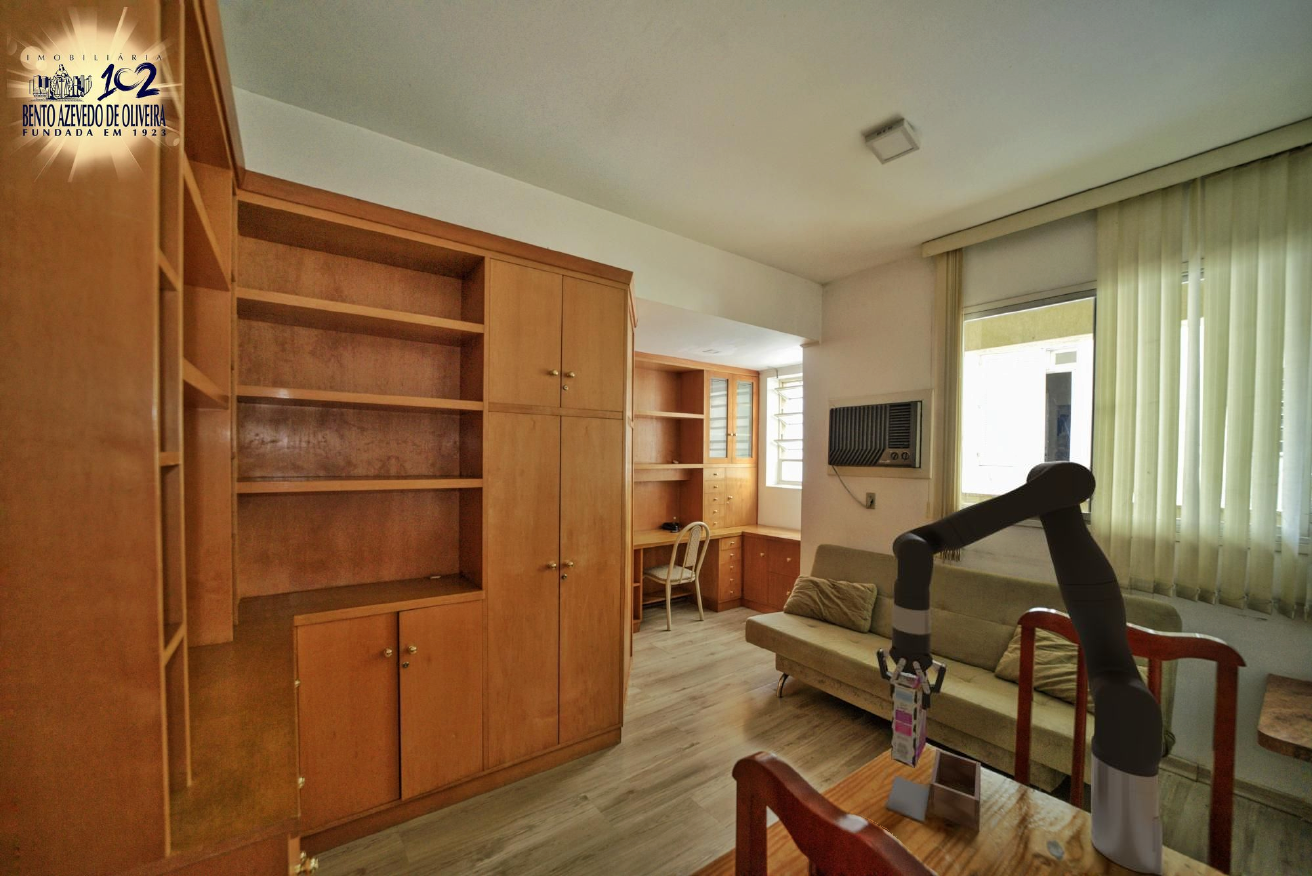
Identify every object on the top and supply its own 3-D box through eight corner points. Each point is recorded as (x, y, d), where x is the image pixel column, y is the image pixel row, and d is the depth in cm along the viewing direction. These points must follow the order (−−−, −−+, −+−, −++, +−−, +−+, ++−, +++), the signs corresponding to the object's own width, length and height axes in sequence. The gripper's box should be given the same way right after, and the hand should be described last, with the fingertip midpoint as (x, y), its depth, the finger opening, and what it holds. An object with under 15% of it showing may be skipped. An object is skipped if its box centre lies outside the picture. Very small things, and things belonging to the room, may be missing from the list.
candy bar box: (916, 770, 100) (917, 689, 100) (890, 759, 103) (891, 681, 103) (927, 745, 108) (928, 671, 109) (903, 736, 112) (903, 664, 112)
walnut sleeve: (980, 790, 108) (980, 763, 109) (979, 831, 96) (979, 801, 97) (936, 774, 113) (936, 748, 114) (929, 812, 101) (930, 783, 102)
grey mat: (929, 789, 108) (929, 788, 108) (923, 823, 98) (923, 821, 98) (895, 777, 112) (895, 775, 112) (886, 808, 102) (886, 806, 102)
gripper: (950, 628, 105) (949, 707, 105) (879, 614, 113) (877, 687, 113) (947, 639, 99) (946, 723, 99) (872, 623, 107) (871, 701, 107)
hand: (910, 704), depth 106 cm, fingers closed on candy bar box, 5 cm apart
